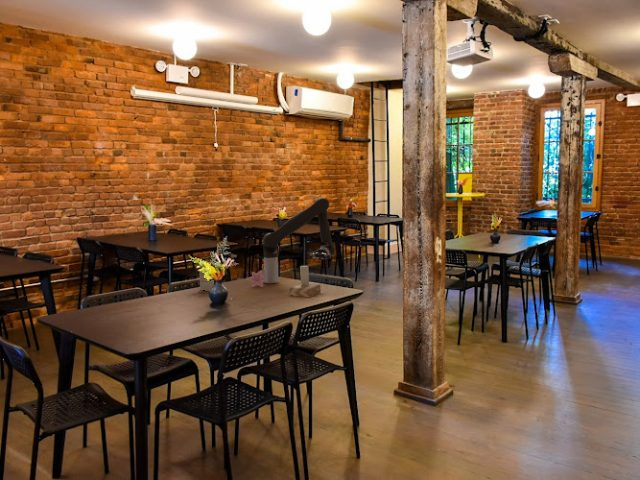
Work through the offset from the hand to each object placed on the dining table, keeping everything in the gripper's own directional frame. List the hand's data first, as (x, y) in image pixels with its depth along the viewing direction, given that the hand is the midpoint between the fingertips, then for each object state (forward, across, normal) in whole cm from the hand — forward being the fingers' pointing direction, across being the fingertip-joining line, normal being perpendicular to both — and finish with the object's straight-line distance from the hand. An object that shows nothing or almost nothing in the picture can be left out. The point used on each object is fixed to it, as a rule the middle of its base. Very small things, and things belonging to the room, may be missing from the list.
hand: (317, 257), depth 369 cm
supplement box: (+8, -68, +23) cm, 72 cm away
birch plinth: (+13, -5, +21) cm, 25 cm away
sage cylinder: (+13, -5, +16) cm, 21 cm away
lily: (-7, -42, +22) cm, 48 cm away
